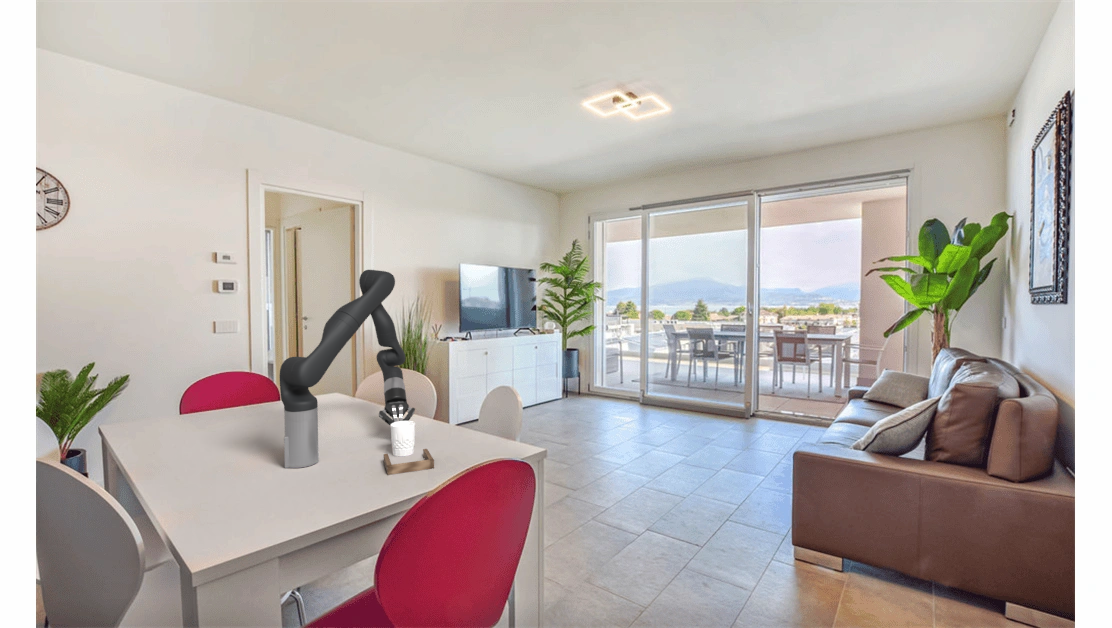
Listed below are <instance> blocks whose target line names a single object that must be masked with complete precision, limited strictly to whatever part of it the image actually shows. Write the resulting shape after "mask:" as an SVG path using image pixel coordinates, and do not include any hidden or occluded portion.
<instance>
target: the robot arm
mask: <svg viewBox="0 0 1112 628" xmlns="http://www.w3.org/2000/svg"><path fill="white" fill-rule="evenodd" d="M358 283H359V288H360V291H361V293H362V295H361V296H359V297H357V298H356V299H353V300H352V301H349V302H347V303H346V304H344V305H342V306H341V307H339V308H338V309H337V310H336V311H334V313H333V314H332V315H331V316H330V317H329V318H328V319H327V321H326V322H325V325H324V327H323V330H322V331H323V332H322V335H321V339H320V342H319V343H318V345H317V346H316V347H315V348H314V350H312V352H310V353H309V355H307V356H290V357H288V358H286V359H285V360H284V361H283V362H282V364H281V365H280V369H279V388H280V389H279V390H280V399H281V402H282V404H283V407H284V408H283V411H284V412H283V413H284V415H283V416H284V417H283V418H284V437H283V443H284V444H283V445H284V446H283V449H284V451H283V452H284V454H283V455H284V469H288V468H291V469H297V468H305V467H309V466H313V465H316V464H317V463H318V462H319V459H320V458H319V415H318V413H319V412H318V411H319V410H318V409H319V408H318V406H319V405H318V399H317V397H316V396H314V395H313V394H312V392H311V391H310V389H309V388H312V387H314V386H315V385H317V384H318V383H319V382H320V381H321V379H322V378H323V377H324V375H325V373H326V372H327V371H328V369H329V368H330V366H331V364H332V363H333V362H334V360H335V359H336V357H337V356H338V354H339V353H340V352H341V351H342V349H343V348H345V345H346V344H347V343H348V342H349V341H350V339H352V338H353V336H354V335H355V334H356V332H357V331H358V330H359V329H360V327H361V326H362V325H363V323H364V322H365V321H366V320H367V319H368V317H370V316H371V319H372V322H373V325H374V328H375V334H376V338H377V342H378V345H379V346H381V347H384V348H386V349H381V350H379V351H378V352H377V353H376V361H377V364H378V366H379V368H380V370H381V372H382V377H383V396H384V408H383V410H379V413H378V417H379V418H380V419H381V420H382V421H384V422H385V423H386V424H387V425H388V426H390V425H391V424H392V423H394V422H398V421H411V420H410V419H411V418H412V417H413V415H414V414H415V412H416V411H415V410H416V408H415V407H410V405H409V403H408V401H407V400H408V399H407V393H406V385H405V382H404V376H403V375H404V374H403V370H402V368H401V367H399V366H401V365H403V364H404V363H405V361H406V353H405V352H404V349H403V347H402V346H401V345H400V342H399V340H398V335H397V332H396V326H395V323H394V321H393V318H392V317H391V316H390V314H389V312H388V311H387V310H386V308H385V307H384V305H383V304H382V303H383V302H384V301H385V300H386V299H387V298H388V297H389V296H390V295H391V293H392V292H393V290H394V288H395V286H396V279H395V276H394V275H393V274H392V273H391V272H389V271H385V270H378V269H377V270H376V269H366V270H364V271H362V273H360V276H359V282H358ZM406 413H407V414H406ZM405 414H406V415H405ZM403 417H404V418H403Z"/></svg>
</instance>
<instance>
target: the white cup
mask: <svg viewBox="0 0 1112 628" xmlns="http://www.w3.org/2000/svg"><path fill="white" fill-rule="evenodd" d="M389 426H390V438H391V447H392V450H391V451H392V456H394V457H398V456H399V457H408V456H411V455H413V454H414V453H415V440H416V438H415V437H416V422H415V421H412V420H409V421H399V420H398V422H394V423H392V424H391V425H389Z"/></svg>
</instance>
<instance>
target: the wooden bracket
mask: <svg viewBox="0 0 1112 628" xmlns="http://www.w3.org/2000/svg"><path fill="white" fill-rule="evenodd" d="M422 455H423V456H422V457H423V459H424V458H425V459H424V460H417V461H416V460H415V461H409V462H400V463H394V464H392V463H391V460H390V455H389V454H388V453H384V454H383V464H384V467H385V470H386V475H387V476H388V475H389V476H390V475H396V474H404V473H409V472H410V473H411V472H417V471H423V470H424V471H425V469H426V470H430V469H432V468H433V469H435V460H434V457H433V456H432V455H431V453H430V451H429V450H428V448H423V449H422Z"/></svg>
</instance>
